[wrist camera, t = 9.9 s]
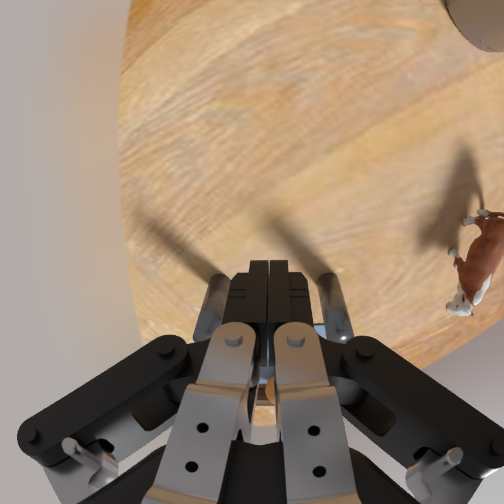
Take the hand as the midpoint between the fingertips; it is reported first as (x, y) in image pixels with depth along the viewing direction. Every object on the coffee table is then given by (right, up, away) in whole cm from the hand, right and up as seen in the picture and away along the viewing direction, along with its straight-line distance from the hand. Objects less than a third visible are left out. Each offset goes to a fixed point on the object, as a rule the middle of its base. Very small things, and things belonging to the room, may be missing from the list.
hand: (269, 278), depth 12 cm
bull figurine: (+25, +2, +17) cm, 31 cm away
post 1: (-4, -3, +22) cm, 22 cm away
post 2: (+8, -2, +21) cm, 22 cm away
